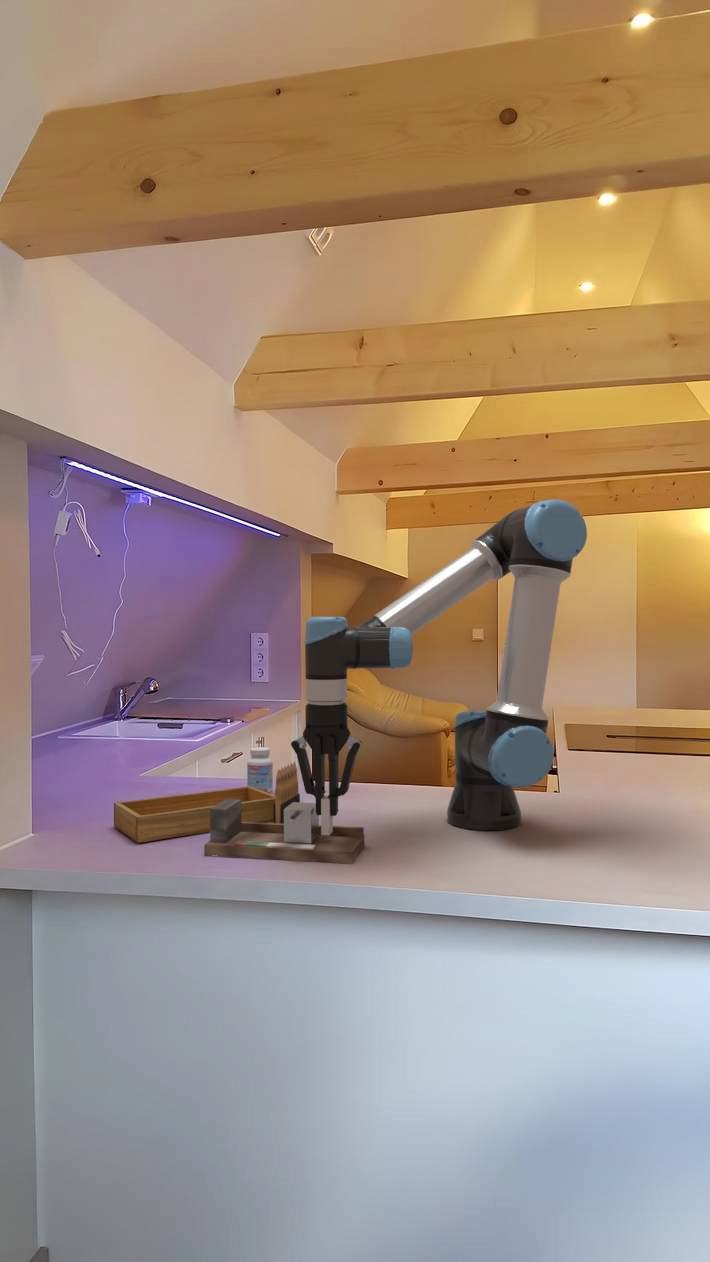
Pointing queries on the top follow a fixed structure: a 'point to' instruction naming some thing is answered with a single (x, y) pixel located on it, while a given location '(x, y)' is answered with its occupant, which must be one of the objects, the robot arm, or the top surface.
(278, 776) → the ammunition clip
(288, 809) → the cube with dark rod
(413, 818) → the top surface
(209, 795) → the tray
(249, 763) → the pill bottle
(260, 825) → the brown tray with block
